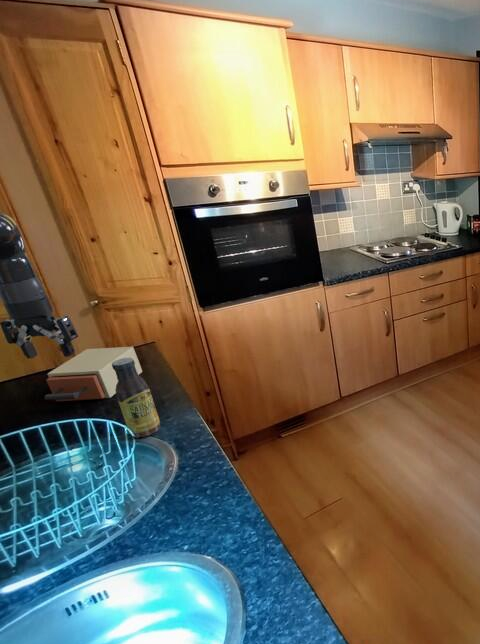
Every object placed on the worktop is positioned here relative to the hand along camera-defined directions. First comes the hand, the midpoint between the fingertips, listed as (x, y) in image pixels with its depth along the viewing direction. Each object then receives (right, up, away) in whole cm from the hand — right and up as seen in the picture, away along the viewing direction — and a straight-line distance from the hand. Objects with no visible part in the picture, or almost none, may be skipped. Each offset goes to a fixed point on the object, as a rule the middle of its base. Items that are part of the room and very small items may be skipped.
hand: (51, 356), depth 115 cm
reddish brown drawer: (-3, -11, +14) cm, 18 cm away
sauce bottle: (+25, -19, -1) cm, 32 cm away
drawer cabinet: (-3, -10, +18) cm, 21 cm away
